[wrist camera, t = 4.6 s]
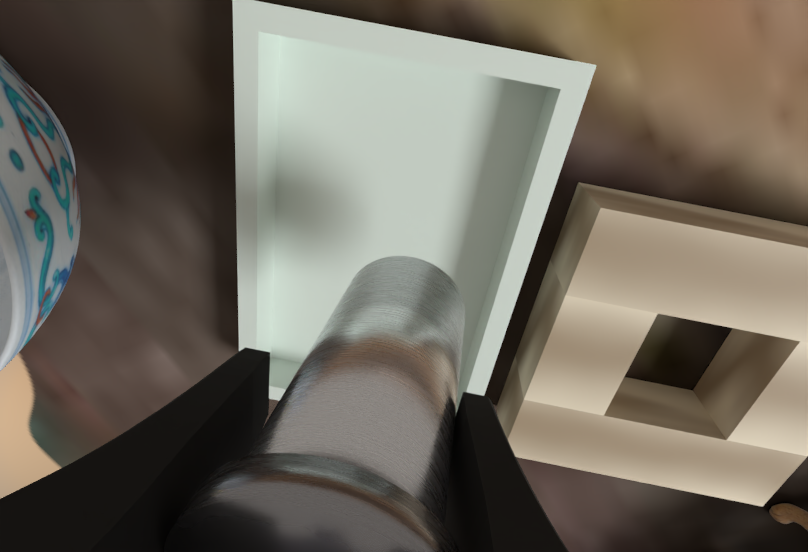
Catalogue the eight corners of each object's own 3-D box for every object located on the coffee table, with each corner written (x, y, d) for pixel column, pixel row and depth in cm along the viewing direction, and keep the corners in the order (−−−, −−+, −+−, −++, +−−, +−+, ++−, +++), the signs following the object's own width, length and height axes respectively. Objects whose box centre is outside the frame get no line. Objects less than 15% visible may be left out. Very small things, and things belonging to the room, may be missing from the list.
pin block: (727, 452, 23) (762, 506, 20) (496, 406, 23) (502, 453, 20) (886, 241, 17) (966, 278, 14) (578, 182, 17) (600, 207, 14)
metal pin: (459, 382, 16) (428, 710, 8) (329, 351, 16) (178, 634, 8) (494, 262, 13) (498, 559, 6) (340, 229, 14) (146, 463, 6)
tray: (468, 400, 23) (469, 438, 21) (260, 359, 23) (239, 392, 21) (576, 62, 15) (596, 65, 13) (264, 2, 15) (232, -4, 13)
